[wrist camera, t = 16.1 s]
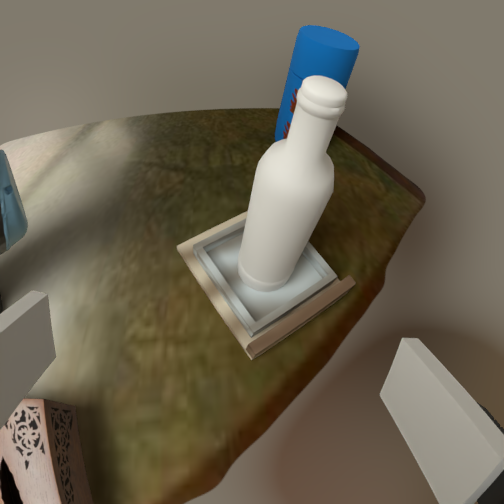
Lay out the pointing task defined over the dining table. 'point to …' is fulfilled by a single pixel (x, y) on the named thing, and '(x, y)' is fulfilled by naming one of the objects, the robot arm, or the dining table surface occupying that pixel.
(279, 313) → the tray
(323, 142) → the bottle
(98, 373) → the dining table surface
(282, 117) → the thermos
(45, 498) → the tissue box cover
